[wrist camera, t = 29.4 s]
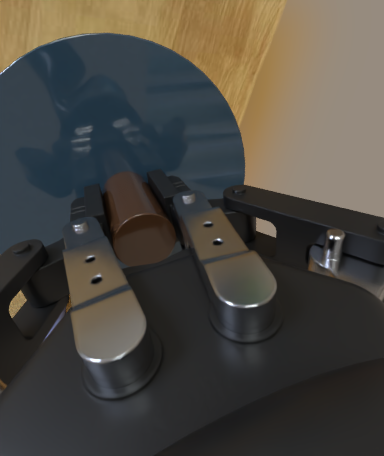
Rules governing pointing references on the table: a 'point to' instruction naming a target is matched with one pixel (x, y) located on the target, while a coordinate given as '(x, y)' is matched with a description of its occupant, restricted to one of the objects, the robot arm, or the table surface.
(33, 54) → the lid
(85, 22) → the table surface
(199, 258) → the robot arm
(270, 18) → the table surface
